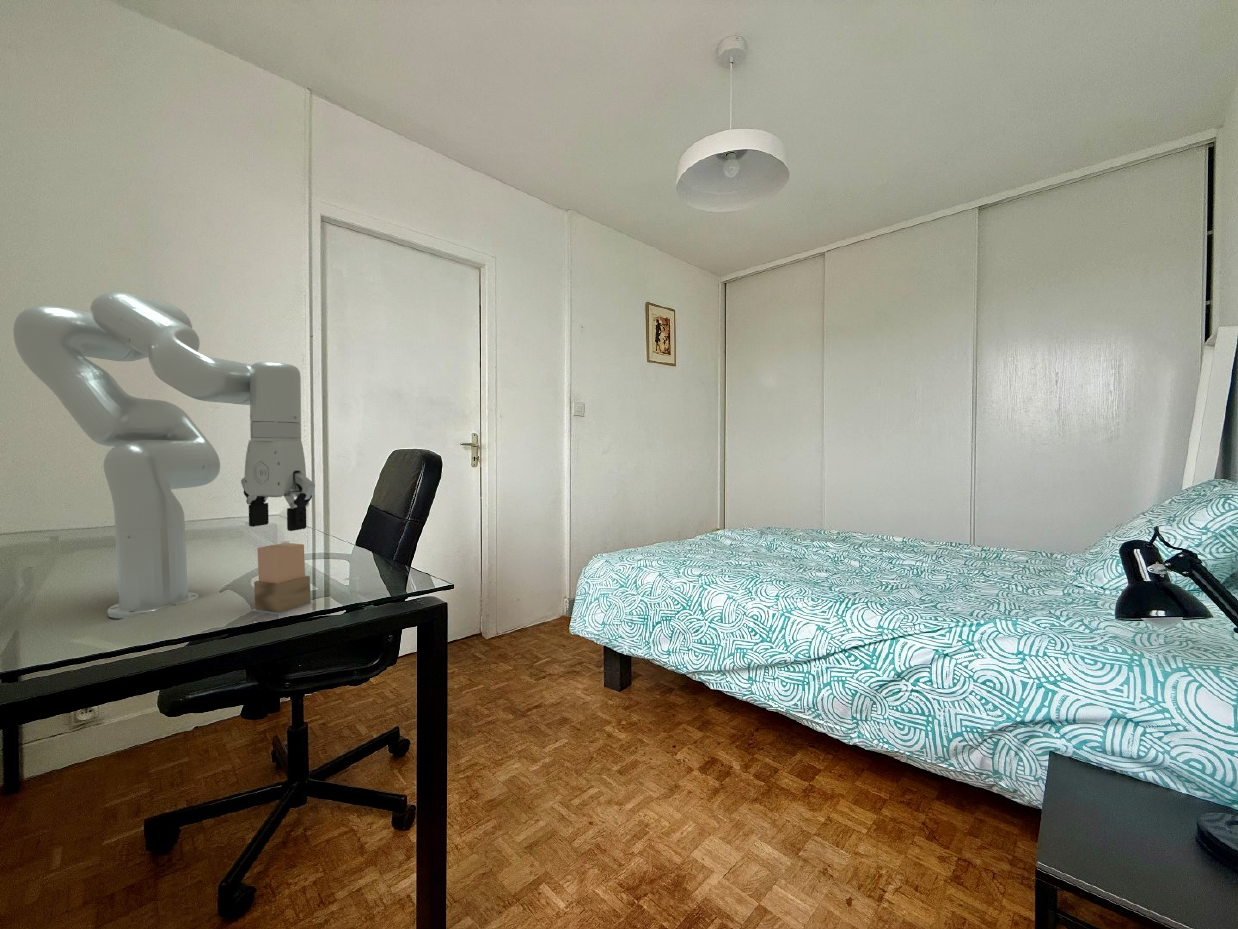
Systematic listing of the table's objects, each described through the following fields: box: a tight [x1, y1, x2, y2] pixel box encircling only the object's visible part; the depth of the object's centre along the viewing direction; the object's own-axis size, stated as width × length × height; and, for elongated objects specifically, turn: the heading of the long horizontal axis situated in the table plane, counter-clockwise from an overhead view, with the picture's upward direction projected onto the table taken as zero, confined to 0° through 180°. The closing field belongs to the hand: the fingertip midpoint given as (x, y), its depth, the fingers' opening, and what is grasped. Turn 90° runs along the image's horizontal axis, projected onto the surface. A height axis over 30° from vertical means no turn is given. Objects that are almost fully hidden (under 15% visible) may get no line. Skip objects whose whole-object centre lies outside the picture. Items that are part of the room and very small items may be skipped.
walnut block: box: [253, 575, 312, 613], centre depth 91 cm, size 6×6×5 cm
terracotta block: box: [257, 542, 306, 584], centre depth 91 cm, size 5×5×6 cm
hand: (277, 527), depth 91 cm, fingers open, 9 cm apart
